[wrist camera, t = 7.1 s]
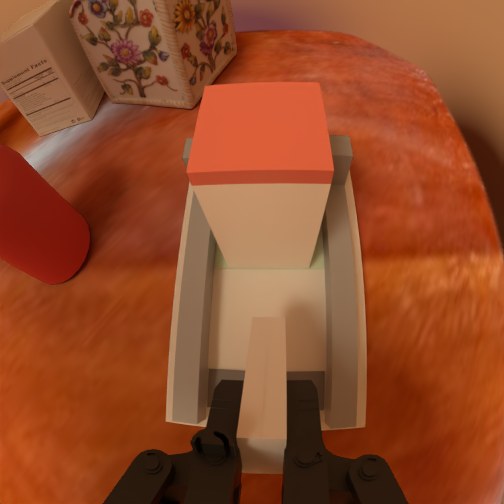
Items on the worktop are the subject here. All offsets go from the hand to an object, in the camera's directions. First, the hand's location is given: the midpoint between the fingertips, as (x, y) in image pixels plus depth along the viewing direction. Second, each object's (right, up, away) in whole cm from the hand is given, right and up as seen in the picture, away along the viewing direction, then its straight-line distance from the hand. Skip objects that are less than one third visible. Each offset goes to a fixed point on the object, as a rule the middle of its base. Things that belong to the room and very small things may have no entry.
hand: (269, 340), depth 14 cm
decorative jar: (-10, +24, +16) cm, 31 cm away
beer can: (-17, +4, +9) cm, 19 cm away
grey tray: (0, +3, +6) cm, 7 cm away
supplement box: (-23, +23, +17) cm, 37 cm away
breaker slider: (0, +6, +6) cm, 8 cm away
